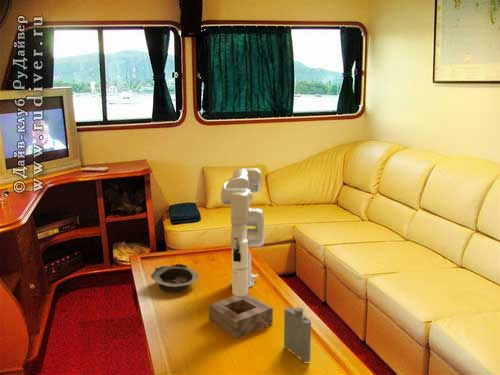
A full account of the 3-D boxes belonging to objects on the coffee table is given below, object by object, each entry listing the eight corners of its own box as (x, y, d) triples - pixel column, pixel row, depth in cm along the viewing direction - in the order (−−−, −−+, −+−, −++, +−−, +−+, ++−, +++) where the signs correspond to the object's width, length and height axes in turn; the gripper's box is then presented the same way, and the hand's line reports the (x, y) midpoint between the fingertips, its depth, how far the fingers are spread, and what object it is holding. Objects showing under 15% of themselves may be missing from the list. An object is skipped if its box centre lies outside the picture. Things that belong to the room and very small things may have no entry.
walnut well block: (244, 308, 246) (244, 292, 244) (272, 324, 229) (272, 308, 228) (209, 320, 233) (208, 304, 231) (235, 338, 217) (235, 321, 215)
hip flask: (282, 346, 210) (283, 302, 206) (290, 343, 212) (291, 300, 208) (305, 364, 197) (306, 318, 193) (313, 361, 199) (314, 315, 195)
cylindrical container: (246, 296, 224) (245, 243, 219) (230, 295, 225) (229, 242, 220) (249, 290, 231) (249, 238, 225) (234, 288, 232) (233, 237, 227)
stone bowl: (156, 277, 283) (157, 262, 281) (200, 281, 283) (201, 265, 281) (146, 295, 259) (147, 278, 257) (194, 299, 259) (195, 282, 257)
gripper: (237, 214, 230) (237, 251, 234) (224, 225, 214) (225, 264, 217) (253, 215, 228) (253, 252, 232) (241, 226, 211) (241, 266, 215)
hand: (239, 257), depth 224 cm, fingers closed on cylindrical container, 7 cm apart
